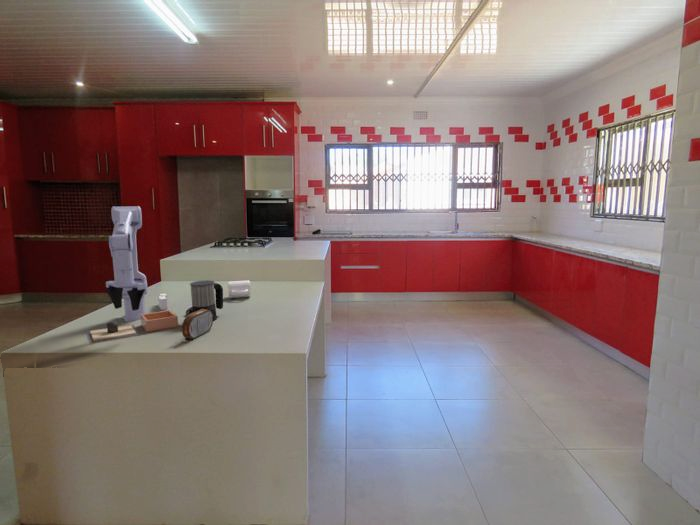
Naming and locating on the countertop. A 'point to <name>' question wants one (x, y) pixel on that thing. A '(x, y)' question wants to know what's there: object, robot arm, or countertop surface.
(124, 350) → the countertop surface
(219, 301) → the milk frother
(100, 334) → the birch lid
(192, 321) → the tin
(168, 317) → the terracotta dish
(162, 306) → the napkin holder
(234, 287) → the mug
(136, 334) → the slate mat
